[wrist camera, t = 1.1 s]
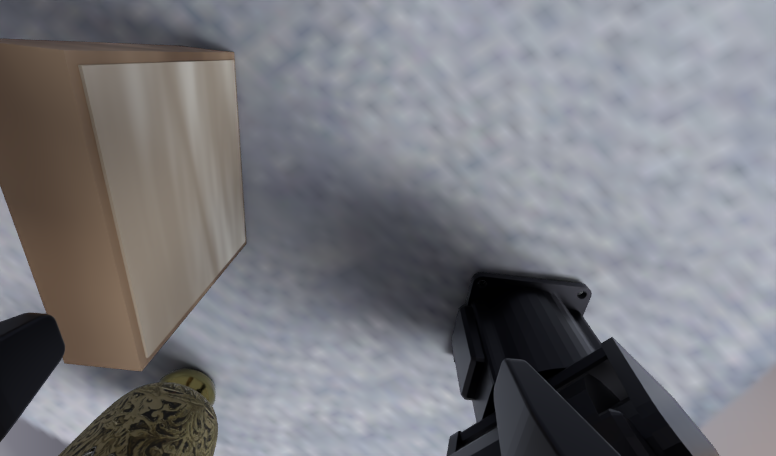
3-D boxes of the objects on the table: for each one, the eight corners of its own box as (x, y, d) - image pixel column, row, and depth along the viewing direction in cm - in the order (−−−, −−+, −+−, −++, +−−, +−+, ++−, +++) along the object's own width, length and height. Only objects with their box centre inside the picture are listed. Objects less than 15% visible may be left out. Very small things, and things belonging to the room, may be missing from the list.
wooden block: (236, 52, 16) (67, 50, 8) (248, 243, 20) (144, 371, 12) (175, 45, 16) (-58, 36, 8) (199, 238, 20) (62, 363, 12)
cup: (113, 355, 24) (-11, 485, 17) (211, 329, 23) (123, 457, 16) (176, 429, 27) (93, 566, 20) (266, 409, 26) (213, 548, 18)
